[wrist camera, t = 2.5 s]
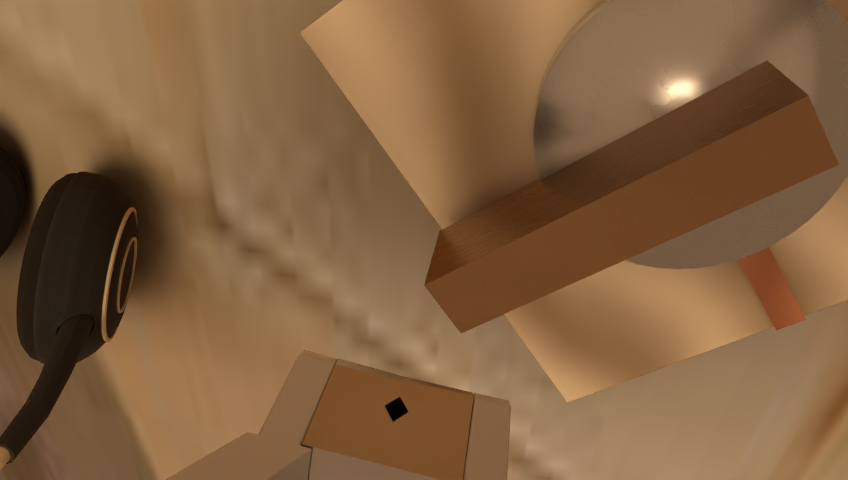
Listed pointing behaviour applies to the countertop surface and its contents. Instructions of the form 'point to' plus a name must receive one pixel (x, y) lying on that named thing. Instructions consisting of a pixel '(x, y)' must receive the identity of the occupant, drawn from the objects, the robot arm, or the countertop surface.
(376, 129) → the dial plate
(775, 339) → the countertop surface
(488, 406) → the robot arm
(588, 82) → the dial
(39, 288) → the headphones
